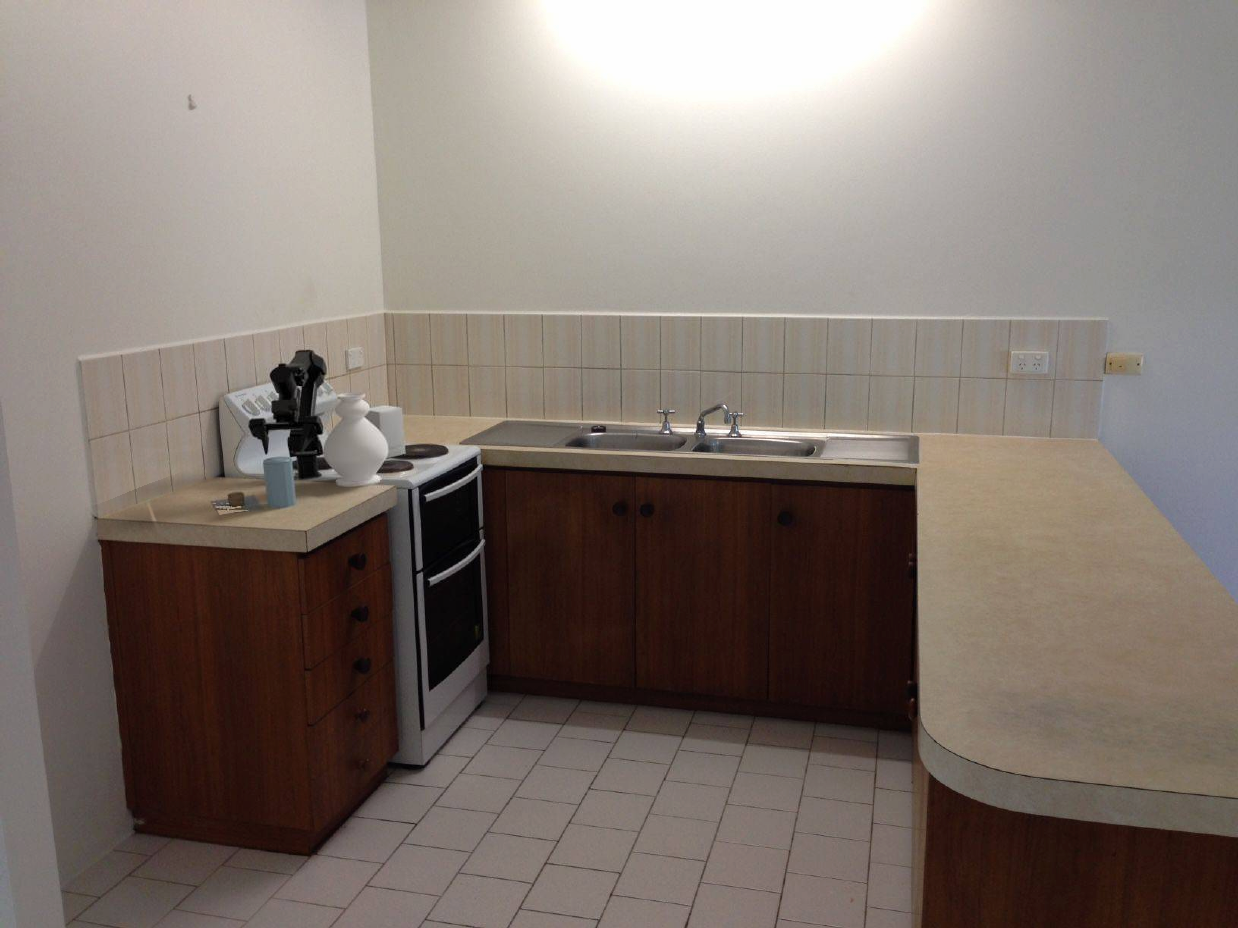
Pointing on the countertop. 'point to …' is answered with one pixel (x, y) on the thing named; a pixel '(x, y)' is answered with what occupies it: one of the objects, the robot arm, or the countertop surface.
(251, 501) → the mat
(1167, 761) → the countertop surface
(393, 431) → the supplement box
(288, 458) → the tumbler
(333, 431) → the decorative vase
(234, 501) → the brown block
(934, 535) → the countertop surface
